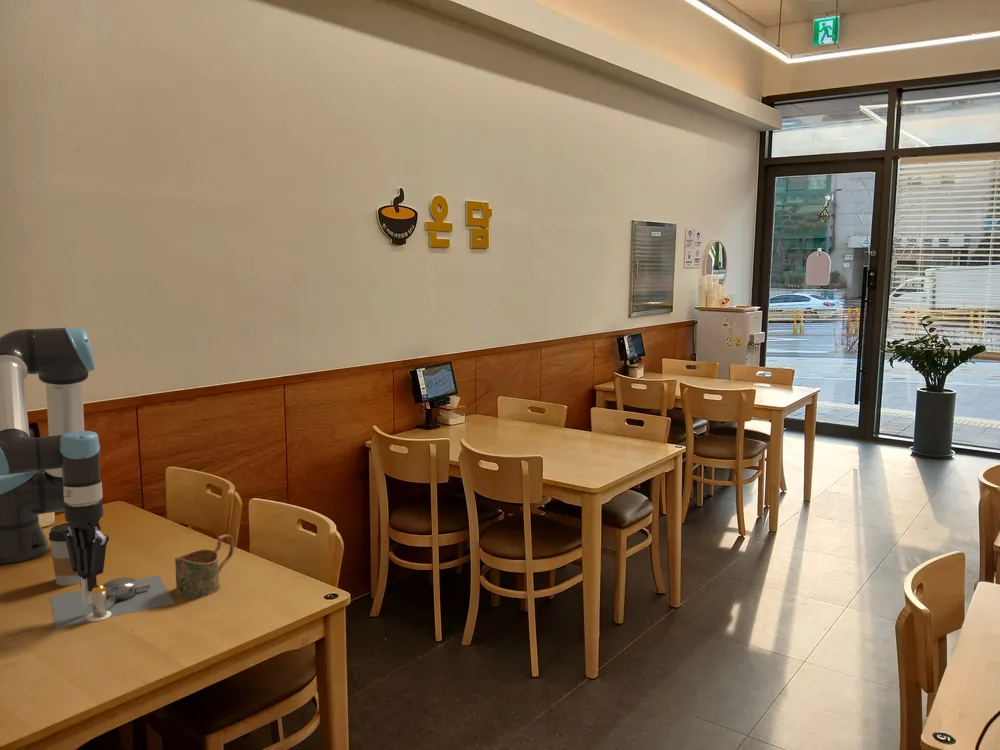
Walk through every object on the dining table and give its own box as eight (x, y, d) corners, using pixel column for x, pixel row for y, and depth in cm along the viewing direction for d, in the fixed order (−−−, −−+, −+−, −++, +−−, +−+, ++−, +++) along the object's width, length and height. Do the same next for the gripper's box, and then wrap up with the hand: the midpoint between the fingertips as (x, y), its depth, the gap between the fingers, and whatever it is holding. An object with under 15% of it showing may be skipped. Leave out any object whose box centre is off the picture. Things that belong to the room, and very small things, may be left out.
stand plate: (50, 600, 184) (50, 594, 184) (159, 579, 197) (158, 573, 197) (56, 635, 167) (56, 628, 167) (175, 609, 180) (174, 603, 180)
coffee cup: (74, 593, 189) (69, 533, 187) (44, 590, 191) (39, 531, 189) (98, 579, 197) (94, 522, 195) (69, 577, 199) (65, 520, 197)
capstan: (101, 589, 188) (99, 561, 187) (151, 588, 188) (150, 559, 187) (69, 619, 172) (67, 588, 171) (125, 617, 172) (123, 586, 171)
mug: (251, 581, 197) (249, 535, 195) (197, 607, 181) (195, 558, 179) (216, 573, 202) (214, 528, 200) (161, 599, 186) (159, 550, 184)
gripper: (48, 501, 171) (55, 603, 174) (86, 510, 165) (92, 615, 168) (80, 493, 178) (86, 591, 181) (117, 501, 172) (123, 603, 175)
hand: (89, 603), depth 174 cm, fingers closed
